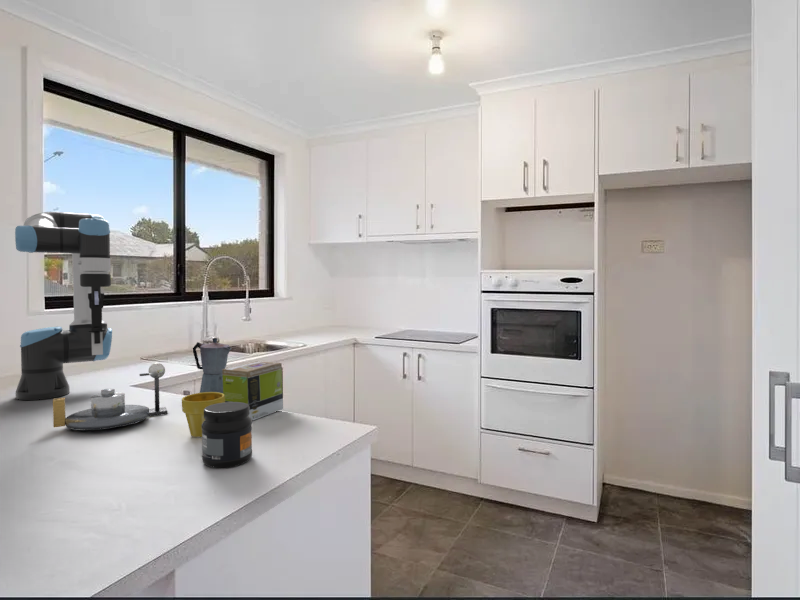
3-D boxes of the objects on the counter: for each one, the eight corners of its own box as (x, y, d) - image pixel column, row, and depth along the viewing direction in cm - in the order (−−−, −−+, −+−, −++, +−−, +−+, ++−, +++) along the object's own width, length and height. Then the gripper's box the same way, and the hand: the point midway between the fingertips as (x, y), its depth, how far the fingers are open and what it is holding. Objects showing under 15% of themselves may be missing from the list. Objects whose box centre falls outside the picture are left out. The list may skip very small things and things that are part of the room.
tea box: (258, 406, 155) (258, 360, 154) (283, 410, 150) (283, 362, 150) (222, 418, 141) (221, 367, 141) (248, 423, 137) (248, 370, 136)
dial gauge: (139, 413, 146) (138, 362, 146) (165, 410, 150) (164, 360, 149) (140, 417, 142) (139, 365, 142) (167, 414, 146) (166, 363, 145)
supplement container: (261, 454, 112) (260, 402, 112) (235, 471, 102) (235, 414, 101) (220, 450, 114) (219, 399, 114) (191, 467, 104) (190, 411, 104)
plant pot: (183, 442, 120) (183, 403, 120) (181, 431, 129) (180, 394, 129) (228, 436, 125) (227, 398, 125) (222, 425, 134) (221, 390, 134)
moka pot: (224, 399, 164) (223, 339, 163) (183, 397, 167) (182, 338, 166) (239, 393, 173) (238, 336, 172) (200, 391, 176) (199, 335, 175)
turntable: (56, 417, 138) (56, 392, 138) (146, 406, 150) (146, 383, 149) (50, 436, 121) (49, 408, 120) (152, 422, 132) (151, 396, 132)
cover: (92, 412, 137) (91, 388, 137) (124, 408, 141) (124, 385, 141) (91, 419, 131) (90, 394, 130) (125, 414, 135) (124, 391, 134)
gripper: (80, 273, 144) (82, 352, 145) (79, 272, 133) (82, 358, 134) (109, 273, 148) (111, 350, 149) (111, 272, 138) (113, 356, 139)
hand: (97, 354), depth 142 cm, fingers closed
